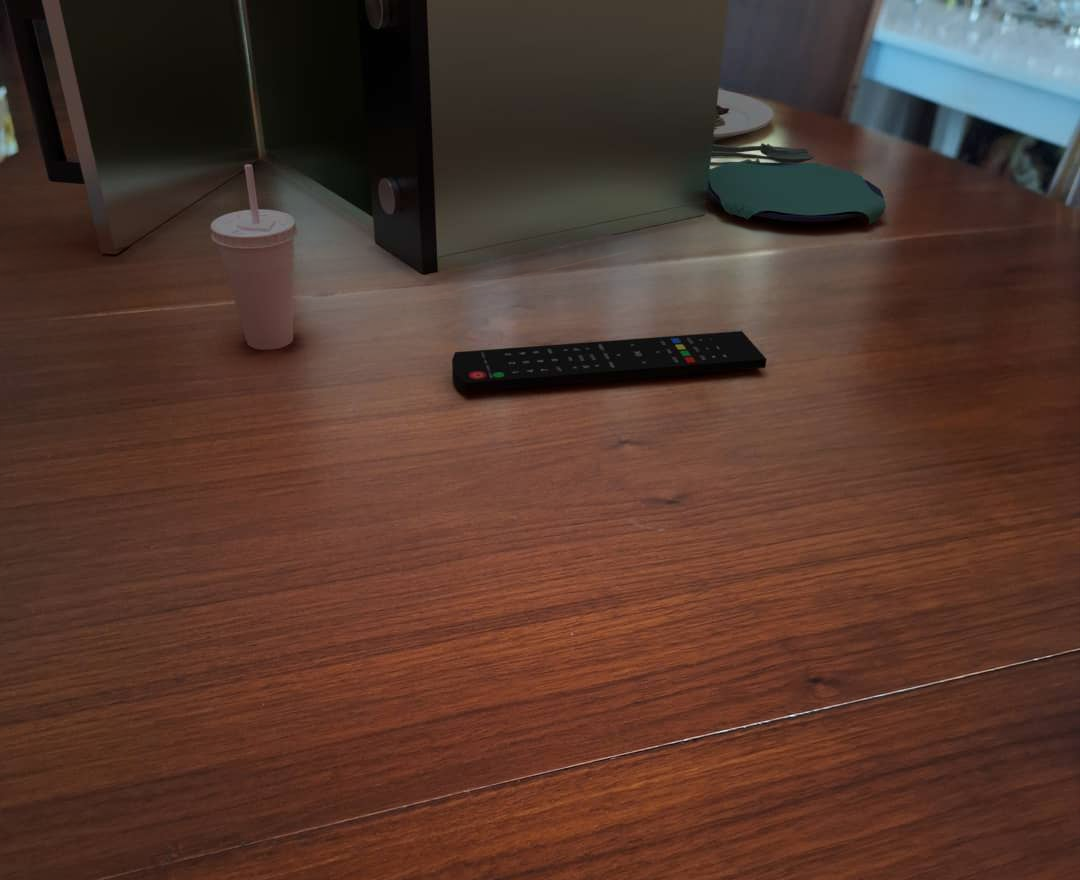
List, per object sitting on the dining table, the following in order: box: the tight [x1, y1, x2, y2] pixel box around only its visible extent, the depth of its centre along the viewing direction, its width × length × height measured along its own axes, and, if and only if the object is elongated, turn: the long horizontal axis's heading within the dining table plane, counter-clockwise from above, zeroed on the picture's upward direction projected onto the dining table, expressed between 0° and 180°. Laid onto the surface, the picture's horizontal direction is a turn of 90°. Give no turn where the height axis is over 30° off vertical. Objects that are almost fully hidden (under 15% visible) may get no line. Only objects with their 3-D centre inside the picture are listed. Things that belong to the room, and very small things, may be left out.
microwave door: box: [2, 0, 260, 255], centre depth 105 cm, size 7×34×28 cm, turn 169°
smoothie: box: [210, 164, 298, 351], centre depth 80 cm, size 6×6×14 cm
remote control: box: [451, 330, 767, 393], centre depth 80 cm, size 5×24×1 cm, turn 102°
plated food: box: [713, 89, 775, 141], centre depth 144 cm, size 30×30×3 cm
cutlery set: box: [707, 142, 887, 226], centre depth 119 cm, size 20×30×2 cm, turn 1°
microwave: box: [240, 0, 729, 274], centre depth 111 cm, size 35×44×28 cm
